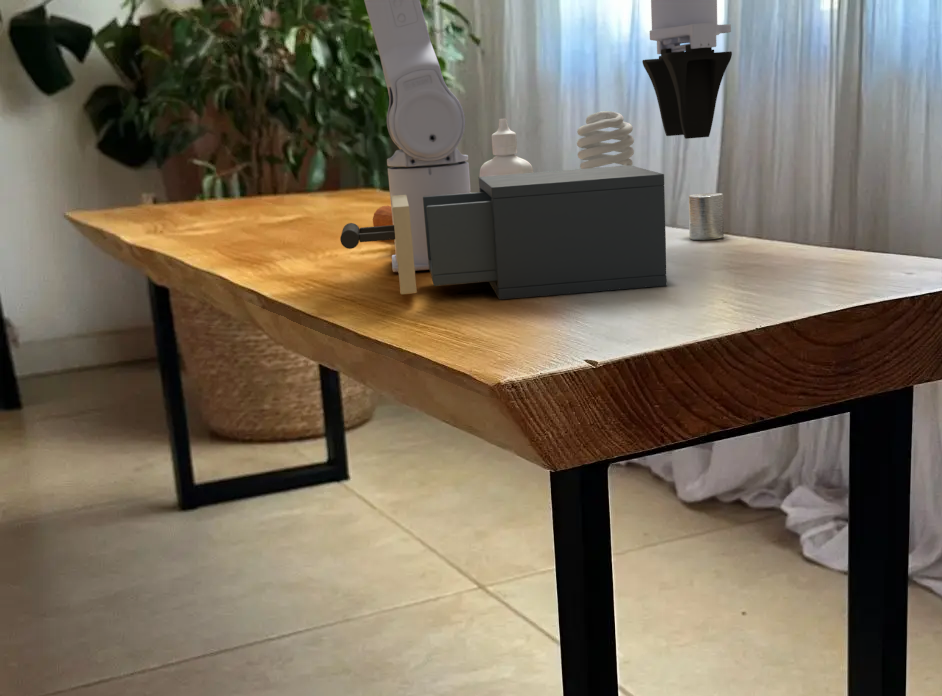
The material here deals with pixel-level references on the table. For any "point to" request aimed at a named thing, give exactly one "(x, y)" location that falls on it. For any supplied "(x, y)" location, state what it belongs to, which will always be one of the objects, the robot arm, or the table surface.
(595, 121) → the light bulb
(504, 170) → the eye dropper bottle
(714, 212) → the cylinder
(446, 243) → the drawer
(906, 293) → the table surface
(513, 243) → the cabinet
